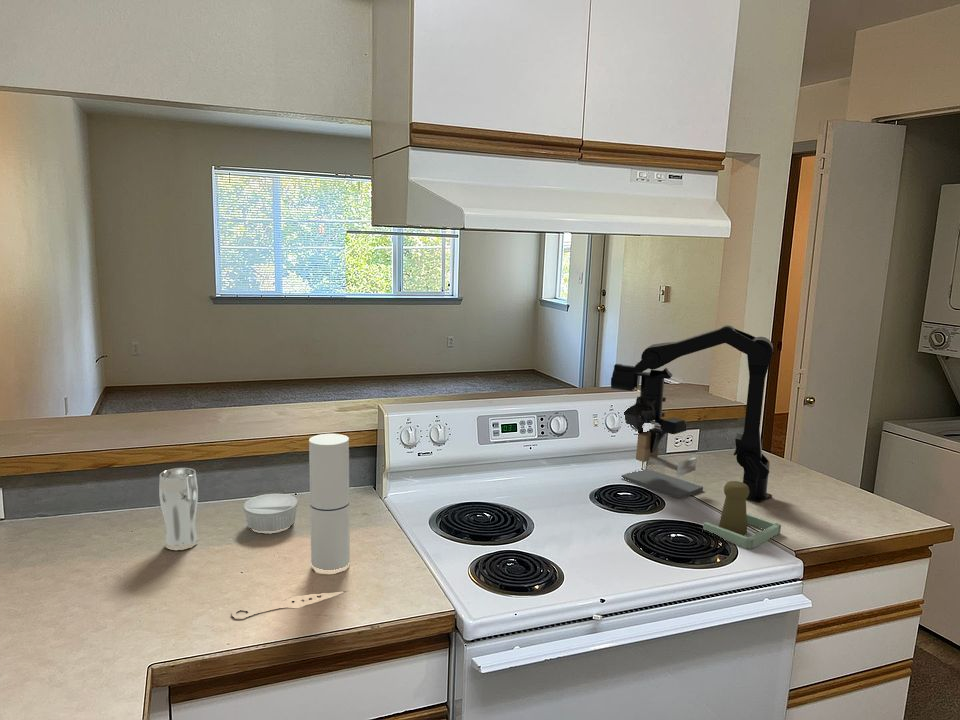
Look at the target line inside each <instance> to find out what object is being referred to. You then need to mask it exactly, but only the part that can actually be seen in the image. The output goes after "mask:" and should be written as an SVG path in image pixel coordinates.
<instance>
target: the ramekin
mask: <svg viewBox="0 0 960 720" xmlns="http://www.w3.org/2000/svg"><path fill="white" fill-rule="evenodd" d="M298 505H299V503H298V499H297V497H295V496H293V495H291V494H286V493H265V494H260V495H257V496H255V497H252V498H250V499H248V500H247V501H245V502H244V504H243V507H242V509H243V512H244V514H245V518H246V523H247V527H248V526H249V527H250V528H251V529H254V530H257V531H276V530H280V529H284V528H287V527H289V526H291V525H292V524H293V523H294V524H295V521H296V517H297V508H298ZM294 524H293V525H294ZM293 525H292V526H293ZM249 527H248V528H249ZM250 528H249V529H250ZM251 529H250V530H251Z"/></svg>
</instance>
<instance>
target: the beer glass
mask: <svg viewBox="0 0 960 720" xmlns="http://www.w3.org/2000/svg"><path fill="white" fill-rule="evenodd" d="M158 488H159V491H158V492H159V493H158V495H159V503H160V509H161V512H162V516H163V520H164V523H165V532H166V535H165V542H166V543H167V544H168V545H171V546H182V545H187V544H190V543H192V542H194V541H196V539H198V536H197V532H196V517H197V509H198V501H199V488H198V480H197V472H196V470H195V469H194V468H189V467H175V468H170V469H167V470H163V471H162V472H160V473H159V487H158ZM165 542H164V543H165Z"/></svg>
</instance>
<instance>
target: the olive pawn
mask: <svg viewBox="0 0 960 720" xmlns="http://www.w3.org/2000/svg"><path fill="white" fill-rule="evenodd" d="M723 491H724V496H725V499H724V502H723V506H722V511H721V515H720V519H719V523H718V527H721V528H724V529H727V530H729V531H732V532H735V533H738V534H740V535H743V536H746V535H747V534H748V524H747V515H746V513H747V499H748V498H747V497H748V495H749V487H748V486H747V485H746V484H745V483H743V481H739V480H738V481H737V480H731V481H727V482H726V483H725V484H724V486H723Z"/></svg>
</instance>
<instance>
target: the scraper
mask: <svg viewBox="0 0 960 720" xmlns="http://www.w3.org/2000/svg"><path fill="white" fill-rule="evenodd" d="M636 443H637V444H636V454H635V461H639V462H642V463H646V462H652V463H655V464H657V465H660V466H663V467H665V468H668V469H672V470H674V471H676V476H678V477H681V476H684V475H686V474H689V473H691V472H694V471H696V468H697V460H698V459H697V457H691V458H687V459H685V460H682V461H680V462H678V463H674V462H671V461H669V460H667V459H663V458H660V457H659V445H660V443H659V444H658V446H657V448H656V450H655V452H654V453H651V452H650V445H651V433H650V431H647V432H643V433H640V434H638V437H637V442H636Z"/></svg>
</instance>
